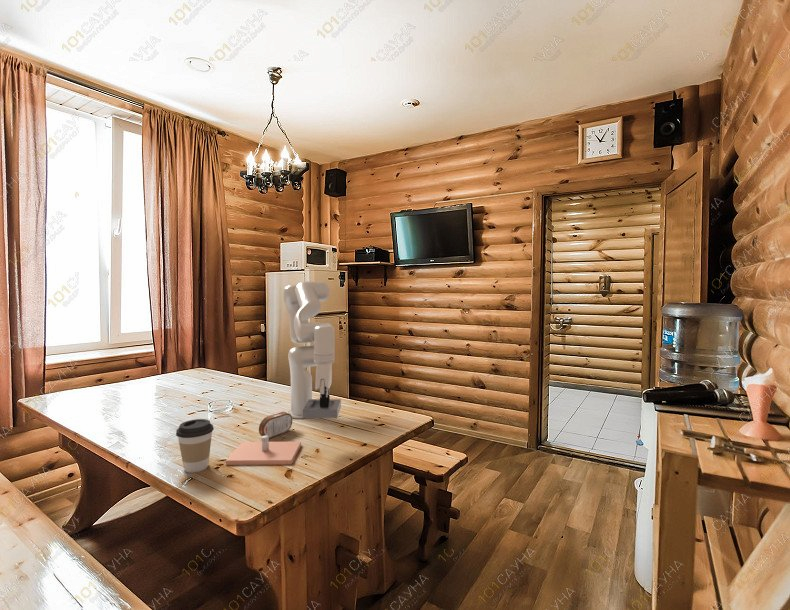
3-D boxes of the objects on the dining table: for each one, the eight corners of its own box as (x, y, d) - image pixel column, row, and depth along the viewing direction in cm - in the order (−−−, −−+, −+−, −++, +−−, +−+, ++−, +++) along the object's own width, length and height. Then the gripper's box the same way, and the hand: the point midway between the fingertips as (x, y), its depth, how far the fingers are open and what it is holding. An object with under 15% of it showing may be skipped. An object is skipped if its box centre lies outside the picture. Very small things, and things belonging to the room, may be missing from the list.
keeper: (242, 445, 157) (241, 427, 157) (301, 445, 158) (300, 427, 157) (225, 464, 141) (225, 444, 141) (291, 464, 142) (291, 443, 141)
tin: (288, 428, 175) (288, 409, 175) (293, 430, 173) (293, 410, 173) (258, 439, 163) (257, 418, 163) (263, 441, 161) (262, 420, 161)
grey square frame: (309, 407, 159) (309, 399, 159) (341, 407, 159) (341, 399, 159) (303, 417, 147) (302, 409, 147) (337, 417, 147) (337, 409, 147)
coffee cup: (194, 458, 146) (193, 416, 145) (222, 462, 143) (221, 419, 142) (168, 473, 135) (167, 427, 134) (197, 478, 132) (196, 431, 131)
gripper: (317, 354, 164) (318, 400, 166) (310, 362, 149) (311, 413, 150) (337, 354, 165) (337, 400, 166) (331, 362, 149) (332, 413, 150)
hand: (324, 405), depth 158 cm, fingers closed on grey square frame, 2 cm apart
